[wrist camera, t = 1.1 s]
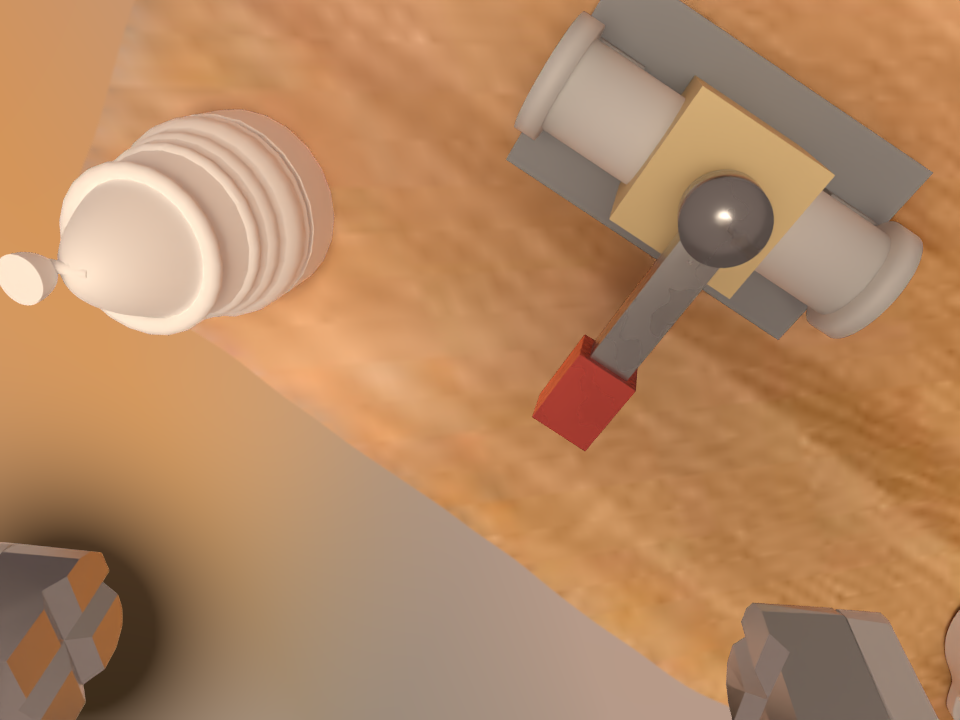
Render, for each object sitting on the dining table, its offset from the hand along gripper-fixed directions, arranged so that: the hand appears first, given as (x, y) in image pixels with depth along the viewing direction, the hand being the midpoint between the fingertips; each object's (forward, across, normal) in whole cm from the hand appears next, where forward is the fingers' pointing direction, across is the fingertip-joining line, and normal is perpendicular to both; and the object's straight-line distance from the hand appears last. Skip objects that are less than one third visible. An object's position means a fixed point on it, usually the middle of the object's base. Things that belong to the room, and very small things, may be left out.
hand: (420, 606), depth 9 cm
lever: (+23, +7, -7) cm, 25 cm away
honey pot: (+41, -18, -11) cm, 46 cm away
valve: (+36, +12, -5) cm, 39 cm away
